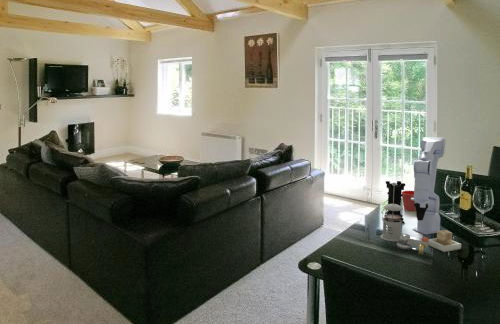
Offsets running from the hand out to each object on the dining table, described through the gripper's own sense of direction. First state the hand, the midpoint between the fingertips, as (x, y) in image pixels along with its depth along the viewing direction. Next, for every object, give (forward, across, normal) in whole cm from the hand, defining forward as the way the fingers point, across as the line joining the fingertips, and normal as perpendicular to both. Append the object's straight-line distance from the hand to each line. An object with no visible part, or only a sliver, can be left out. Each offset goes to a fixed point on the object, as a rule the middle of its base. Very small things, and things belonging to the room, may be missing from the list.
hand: (419, 219), depth 166 cm
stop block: (+9, +3, +9) cm, 14 cm away
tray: (+10, +3, +9) cm, 14 cm away
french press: (+10, -4, -11) cm, 16 cm away
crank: (+8, +9, -3) cm, 12 cm away
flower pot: (+10, -54, +1) cm, 55 cm away
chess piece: (+10, -28, -9) cm, 32 cm away
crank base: (+10, +10, -4) cm, 15 cm away
